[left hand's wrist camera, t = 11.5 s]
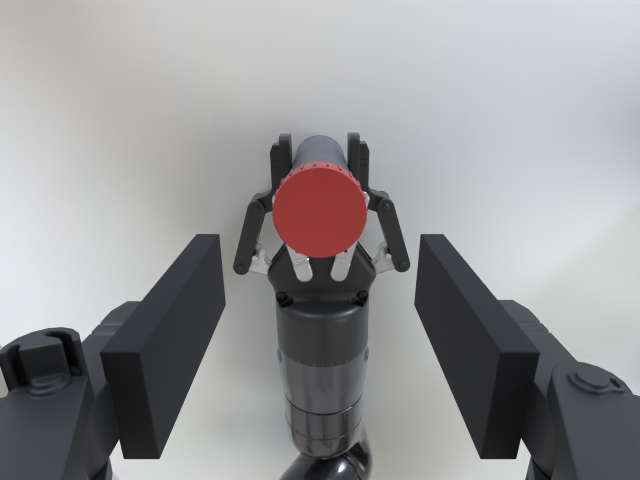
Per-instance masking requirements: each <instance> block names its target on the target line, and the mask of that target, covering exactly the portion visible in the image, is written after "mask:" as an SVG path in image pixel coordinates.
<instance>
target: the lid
mask: <svg viewBox="0 0 640 480" xmlns="http://www.w3.org/2000/svg"><path fill="white" fill-rule="evenodd" d="M360 187H361V185H360V183H359V181H356V179H355V178H354V177H353V176H352V173H351V172H350V171H349V172H348V171H347V170H345V169H344V168H342V167H341V165H335V164H332V163H329V161H326V162H316V160H315V161H314V162H312V163H307V164H301V166H300V167H298V168H296V169H295V170H291V171H290V173H289V174H288V175H287V176H286V178H285V179H282V181H281V183H280V187H279V190H278V189H277V190H276V193H275V195H274V196H275V200H274V203H273V206H272V209H273V221H274V225H275V228H276V230H277V233H278V234H279V236H280V238H281V239H282V240H283V241H284V242H285V243H286V244H287V245H288V246H289V247H290V248H291V249H293V250H294V251H296V252H298V253H300V254H302V255H305V256H309V257H315V258H324V257H330V256H334V255H337V254H340V253H342V252H344V251H345V250H347V249H348V248H350V247H351V246H352V245H353V244H354V243H355V242H356V241H357V240H358V238H359V237H360V235H361V234H362V232H363V229H364V227H365V223H366V219H367V211H368V209H367V206H366V201H365V199H366V196H365V194H364V192H362V190H361V188H360Z"/></svg>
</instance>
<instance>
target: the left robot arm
mask: <svg viewBox="0 0 640 480" xmlns="http://www.w3.org/2000/svg"><path fill="white" fill-rule="evenodd" d="M225 305H226V303H225V292H224V281H223V271H222V260H221V249H220V238H219V234H197V235H196V236H195V237H194V238H193V240H192V241H191V242H190V243H189V244H188V246H187V247H186V248H185V249H184V250H183V252H182V253H181V254H180V255H179V256H178V258H177V259H176V260H175V261H174V263H173V264H172V265H171V266H170V267H169V269H168V270H167V271H166V272H165V273H164V275H163V276H162V277H161V278H160V280H159V281H158V282H157V283H156V284H155V286H154V287H153V288H152V289H151V290H150V292H149V293H148V294H147V295H146V296H145V298H144V299H143V300H142V301H127V302H126V303H124V304H122V305H121V306H119V307H117V308H116V309H114V310H112V311H111V312H110V313H109V314H108V315H107V316H106V317H105V318H104V319H103V320H102V322H101V325H98V326H97V327H96V328H95V329H94V330H93V331H92V334H90V335H89V336H88V337H87V338H86V339H85V340H84V341H83V342H82V343H81V340H80V336H79V333H78V332H76V331H75V330H73V329H70V328H63V327H58V328H47V329H43V330H39V331H35V332H31V333H29V334H27V335H24V336H22V337H19V338H17V339H15V340H14V341H12V342H10V343H9V344H7V345H6V346H4V347H3V348H2V349H1V350H0V367H1V370H2V373H3V376H4V379H5V382H6V385H7V388H8V391H9V392H8V394H7V396H6V397H3V398H0V480H112V467H111V462H110V458H109V456H110V454H111V453H112V451H113V449H114V447H115V446H116V444H117V442H118V440H120V444H121V449H122V453H123V457H124V459H160V456H161V454H162V452H163V449H164V447H165V445H166V442H167V440H168V438H169V435H170V433H171V431H172V428H173V426H174V424H175V421H176V419H177V417H178V414H179V412H180V410H181V408H182V405H183V403H184V401H185V398H186V396H187V394H188V391H189V389H190V387H191V384H192V382H193V380H194V377H195V375H196V373H197V370H198V368H199V366H200V363H201V361H202V359H203V356H204V354H205V352H206V349H207V347H208V345H209V342H210V340H211V338H212V335H213V333H214V331H215V328H216V326H217V324H218V321H219V319H220V317H221V314H222V312H223V310H224V307H225ZM414 305H415V307H416V310H417V312H418V314H419V317H420V319H421V321H422V324H423V326H424V328H425V331H426V333H427V335H428V338H429V340H430V342H431V345H432V347H433V349H434V352H435V354H436V356H437V359H438V361H439V363H440V366H441V368H442V370H443V373H444V375H445V377H446V380H447V382H448V384H449V387H450V389H451V391H452V394H453V396H454V398H455V401H456V403H457V405H458V408H459V410H460V412H461V415H462V417H463V419H464V421H465V424H466V426H467V428H468V431H469V433H470V435H471V438H472V440H473V442H474V445H475V447H476V449H477V452H478V454H479V456H480V459H516V457H517V453H518V448H519V444H520V440H521V438H522V440H523V442H524V444H525V445H526V447H527V449H528V451H529V452H530V454H531V458H530V462H529V466H528V470H527V474H526V479H525V480H640V396H637V395H633V394H632V392H631V390H630V389H629V388H628V386H627V385H626V384H625V383H624V382H623V381H622V380H621V379H619V378H618V377H616V376H615V375H614V374H612V373H610V372H608V371H606V370H604V369H602V368H600V367H598V366H594V365H591V364H587V363H583V362H577V361H576V360H575V358H574V357H573V356H572V355H571V354H570V353H569V352H568V351H567V350H566V349H565V348H564V347H563V346H562V345H561V343H560V342H559V341H558V340H557V339H556V338H555V337H554V336H553V335H552V334H551V333H549V332H548V329H547V328H546V327H545V326H544V325H543V324H542V323H540V321H539V320H538V319H537V318H536V317H535V316H534V314H533V313H532V312H531V311H530V310H529V309H527V308H525V307H524V306H522V305H520V304H518V303H517V302H515V301H513V300H497V299H496V298H495V296H494V295H493V294H492V293H491V292H490V290H489V289H488V288H487V287H486V286H485V284H484V283H483V282H482V281H481V280H480V278H479V277H478V276H477V275H476V273H475V272H474V271H473V270H472V269H471V267H470V266H469V265H468V264H467V263H466V261H465V260H464V259H463V258H462V256H461V255H460V254H459V253H458V252H457V250H456V249H455V248H454V247H453V246H452V244H451V243H450V242H449V241H448V240H447V238H446V237H445V236H444V235H443V234H421V238H420V249H419V260H418V271H417V281H416V292H415V303H414Z"/></svg>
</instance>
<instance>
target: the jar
mask: <svg viewBox="0 0 640 480" xmlns="http://www.w3.org/2000/svg"><path fill="white" fill-rule="evenodd" d="M315 160H316V162H326V161H329V163H332V164H335V165H341V167H342V168H344V169H345V170H347V171H348V172H349V169H348V166H347V163H346V160H345V157H344V154H343V151H342V149H341V147H340V146H339V144H338V143H337V142H336V141H335V140H333V139H332V138H329V137H327V136H313V137H310V138H309V139H307V140H305V141H304V142H303V143H302V144H301V146H300V147H299V149H298V151H297V154H296V157H295V160H294V163H293V166H292V169H291V170H295V169H296V168H298V167H300V166H301V164H307V163H312V162H314V161H315Z"/></svg>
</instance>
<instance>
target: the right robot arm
mask: <svg viewBox="0 0 640 480" xmlns="http://www.w3.org/2000/svg"><path fill="white" fill-rule="evenodd" d="M270 160H271V177H272V189H270V190H269V191H267V192H264V193H258V194H256V195H255V196H254V197H253V199H252V201H251V202H250V204H249V206H248V209H247V213H246V217H245V221H244V225H243V229H242V233H241V237H240V241H239V245H238V249H237V253H236V257H235V261H234V265H233V269H234V271H235V272H236V273H237V274H240V275H244V274H246V273H247V272H248V271H252V272H256V273H260V274H264V275H267V276H268V279H269V281H270V283H271V284H272V286H273V288H274V290H275V297H276V313H277V330H278V346H279V347H278V351H277V352H278V360H279V363H280V371H281V376H282V381H283V385H284V398H285V415H286V426H287V431H288V435H289V438H290V440H291V442H292V444H293V445H294V447H295V448H296V449H297V450H298V451H299V452H300V453H301V454H300V455H299V456H298V457H297V459H296V460H295V461H294V462H293V463H292V464H291V466H290V467H289V468H288V469H287V470H286V471H285V472H284V474H283V475H282V476H281V477H280V479H279V480H370V477H371V473H372V467H373V456H372V451H371V448H370V444H369V440H368V437H367V433H366V430H365V427H364V424H363V421H362V407H363V383H364V378H365V373H366V366H367V359H368V346H367V338H368V305H369V289H370V286H371V284H372V283H373V281H374V280H375V277H376V274H378V273H382V272H385V271H388V270H392V269H396V270H397V271H398V272H405V271H407V270H408V269H409V267H410V261H409V257H408V254H407V250H406V247H405V243H404V240H403V236H402V232H401V229H400V225H399V222H398V218H397V215H396V211H395V207H394V204H393V202H392V201H391V200H390V198H389V196H388V194H387V193H386V192H384V191H376V190H373V189H371V188H370V187H369V186H368V175H369V149H368V146H367V144H366V142H365V141H360V136H359V134H358V133H348V158H347V166H348V169H349V171H350V172H351V173H352V176H353V177H354V178H355V179H356V181H359V183H360V185H361V187H360V188H361V190H362V192H364V194H365V196H366V199H365V201H366V206H367V209H370V210H373V211H376V212H377V215H378V218H379V221H380V225H381V228H382V232H383V235H384V238H385V242H382V243H380V244H379V246H378V254H377V256H376V257H375V258H374V259H371V258H370V256H369V255H368V254H367V252H366V251H365V250H364V248H363V247H362V246H361V244H360V243H359V242H358V240H357V241H356V242H355V243H354V244H353V245H352V246H351V247H350V248H348V249H347V250H345V251H344V252H342V253H340V254H337V255H334V256H330V257H324V258H315V257H309V256H305V255H302V254H300V253H298V252H296V251H294V250H293V249H291V248H290V247H289V246H288V245H287V244H286V243H284V244H283V245H282V247H281V248H280V249H279V251H278V252H277V254H276V255H275V256H274V258H273V259H272V261H271V260H269V259H267V257H266V256H265V248H264V246H263V245H262V244H259V243H258V239H259V235H260V232H261V228H262V224H263V220H264V217H265V213H267V212H270V211H273V209H272V206H273V203H274V200H275V196H274V195H275V193H276V190H277V189H278V190H279V187H280V183H281V181H282V179H285V178H286V176H287V175H288V174H289V173H290V171H291V169H292V145H291V134H281V135H280V136H279V143H274V144H273V145H272V148H271V151H270Z"/></svg>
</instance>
